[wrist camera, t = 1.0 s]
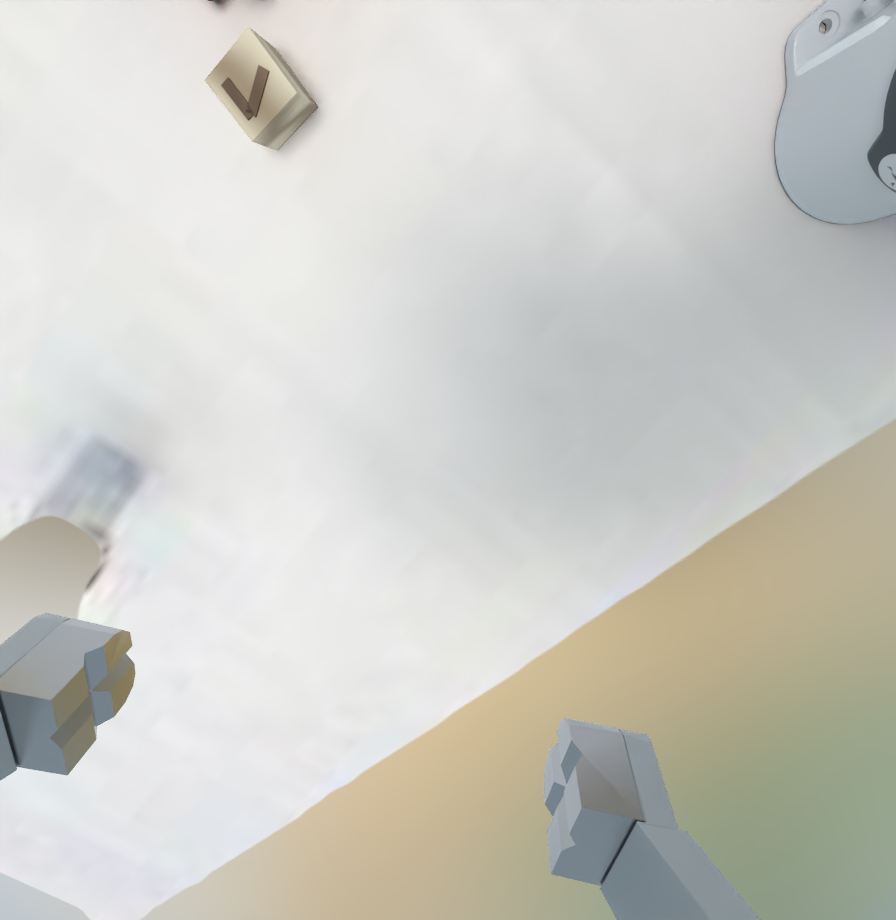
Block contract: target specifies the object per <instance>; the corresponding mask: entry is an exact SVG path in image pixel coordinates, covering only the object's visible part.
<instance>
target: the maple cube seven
mask: <svg viewBox="0 0 896 920" xmlns="http://www.w3.org/2000/svg"><path fill="white" fill-rule="evenodd" d="M205 81H206V83H207V84H208V85H209V87H210V88H211V89H212V90H213V92H214V93H215V94H216V96H217V97H218V98H219V99H220V101H221V102H222V103H223V105H224V106H225V107H226V108H227V110H228V111H229V112H230V114H231V115H232V116H233V117H234V119H235V120H236V121H237V123H238V124H239V125H240V126H241V128H242V129H243V130H244V131H245V133H246V134H247V135H248V137H249V138H250V139H251V140H252V141H253V142H255V143H258V144H261V145H264V146H266V147H269V148H272V149H275V150H278V149H279V148H280V147H281V146H282V145H283V144H284V143H285V142H286V141H287V140H288V139H289V138H290V137H291V135H292V134H293V133H294V132H295V131H296V130H297V129H298V128H299V127H300V126H301V125H302V124H303V123H304V122H305V121H306V120H307V118H308V117H309V116H310V115H311V114H312V113H313V112H314V111H315V110H316V109H317V108H318V106H317V105H316V103H315V102H314V101H313V99H312V98H311V97H310V95H309V94H308V92H307V91H306V90H305V88H304V87H303V85H302V84H301V83H300V81H299V80H298V79H297V77H296V76H295V74H294V73H293V72H292V70H291V69H290V68H289V66H288V65H287V63H286V62H285V61H284V59H283V58H282V57H281V55H280V54H279V52H278V51H277V50H276V49H275V48H274V47H273V46H272V45H270V44H269V43H268V42H267V41H265V40H264V39H263V38H262V37H260V36H259V35H258V34H257V33H256V32H254V31H253V30H252V29H251V28H249V27H248V28H247V30H246V31H245V32H244V33H243V34H242V36H241V37H240V38H239V39H238V40H237V42H236V43H235V44H234V45H233V47H232V48H231V49H230V50H229V51H228V53H227V54H226V55H225V56H224V57H223V59H222V60H221V61H220V62H219V63H218V65H217V66H216V67H215V68H214V69H213V71H212V72H211V73H210V74H209V75H208V77H207V78H206V79H205Z"/></svg>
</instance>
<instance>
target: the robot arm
mask: <svg viewBox="0 0 896 920" xmlns="http://www.w3.org/2000/svg"><path fill="white" fill-rule="evenodd" d="M821 22H824V23H825V24H826V31H825V33H824V34H822V33H821V32H820V31H819V25H820V23H821ZM785 64H786V76H787V89H786V94H785V98H784V102H783V105H782V109H781V112H780V116H779V120H778V124H777V130H776V139H775V157H776V165H777V170H778V174H779V177H780V180H781V182H782V185H783V187H784V189H785V190H786V192H787V194H788V195H789V197H790V198H791V199H792V201H793V202H794V203H795V204H796V205H797V206H798V207H799V208H800V209H802V210H803V211H804V212H806V213H807V214H809V215H811V216H813V217H815V218H817V219H820V220H823V221H826V222H830V223H837V224H857V223H864V222H869V221H873V220H877V219H880V218H883V217H886V216H889V215H893V214H896V0H826V1H825V2H824V3H823V4H822V5H821V6H820V7H819V8H817V9H816V10H815V11H814V12H813V13H812V14H811V15H810V16H808V17H807V18H806V19H805V20H804V21H803V22H802V23H800V24H799V25H798V26H797V27H796V28H795V29H794V30H793V32H792V33H791V34H790V36H789V38H788V41H787V44H786V51H785ZM131 647H132V642H131V636H130V632H127V631H124V630H120V629H116V628H112V627H107V626H103V625H99V624H94V623H90V622H85V621H81V620H77V619H71V618H67V617H62V616H58V615H53V614H49V613H45V614H42V615H39V616H37V617H34V618H33V619H32V620H30V621H29V622H28V623H27V624H26V625H25V626H23V627H22V628H21V629H19V630H18V631H17V632H16V633H15V634H13V635H12V636H11V637H10V638H9V639H7V640H6V641H5V642H4V643H3V644H1V645H0V780H2V779H3V778H5V777H6V776H8V775H10V774H11V773H13V772H14V771H16V770H17V767H22V768H28V769H34V770H39V771H45V772H51V773H57V774H63V775H68V774H69V773H70V772H71V770H72V769H73V768H74V767H75V765H76V764H77V763H78V762H79V760H80V759H81V758H82V757H83V755H84V754H85V753H86V752H87V750H88V749H89V748H90V747H91V745H92V744H93V743H94V742H95V740H96V733H97V726H98V725H100V724H102V723H103V722H105V721H107V720H109V719H111V718H113V717H114V716H115V715H116V714H117V712H118V711H119V710H120V708H121V707H122V706H123V704H124V703H125V702H126V699H127V697H128V695H129V693H130V691H131V689H132V687H133V683H134V677H135V666H134V663H133V661H132V660H131V659H130V658H129V657H128V656H127V654H126V652H127V651H128V650H129V649H130V648H131ZM557 736H558V744H556V745H554V746H552V747H551V748H550V751H549V754H548V757H547V760H546V767H545V773H544V798H545V805H546V807H547V808H548V810H549V811H550V813H551V814H552V816H553V818H552V821H551V823H550V825H549V828H548V830H547V835H548V846H549V856H550V868H551V874H554V875H557V876H562V877H566V878H570V879H574V880H579V881H583V882H587V883H591V884H596V885H600V886H601V888H600V889H601V891H602V893H603V894H604V897H605V898H606V900H607V902H608V904H609V906H610V908H611V909H612V911H613V913H614V915H615V917H616V919H617V920H760V919H759V917H758V916H757V915H756V914H755V913H754V911H753V910H752V909H751V908H750V906H748V904H747V903H746V902H745V900H744V899H743V898H742V897H741V896H740V894H739V893H738V892H737V891H736V890H735V888H734V887H733V886H732V885H731V884H730V882H729V881H728V880H727V879H726V878H725V876H724V875H723V874H722V873H721V872H720V870H719V869H718V868H717V867H716V865H715V864H714V863H713V862H712V861H711V859H710V858H709V857H708V856H707V855H706V853H705V852H704V851H703V850H702V848H701V847H700V846H699V845H698V844H697V842H696V841H695V840H694V839H693V838H692V836H691V835H690V834H689V833H688V832H687V831H683V830H679V829H678V826H677V823H676V819H675V816H674V813H673V810H672V806H671V803H670V800H669V797H668V794H667V790H666V787H665V784H664V781H663V778H662V775H661V771H660V768H659V765H658V762H657V758H656V755H655V752H654V749H653V746H652V742H651V740H650V738H649V737H648V736H647V734H643V733H638V732H633V731H628V730H623V729H617V728H615V727H610V726H604V725H599V724H594V723H588V722H583V721H578V720H572V719H567V718H564V719H563V720H562V721H561V723H560V725H559V728H558V730H557Z"/></svg>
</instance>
